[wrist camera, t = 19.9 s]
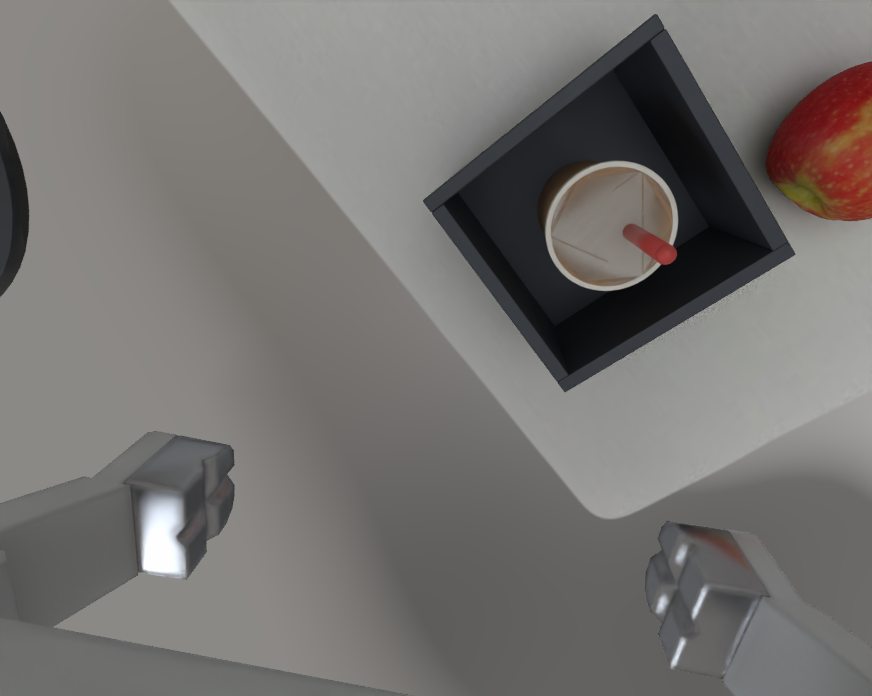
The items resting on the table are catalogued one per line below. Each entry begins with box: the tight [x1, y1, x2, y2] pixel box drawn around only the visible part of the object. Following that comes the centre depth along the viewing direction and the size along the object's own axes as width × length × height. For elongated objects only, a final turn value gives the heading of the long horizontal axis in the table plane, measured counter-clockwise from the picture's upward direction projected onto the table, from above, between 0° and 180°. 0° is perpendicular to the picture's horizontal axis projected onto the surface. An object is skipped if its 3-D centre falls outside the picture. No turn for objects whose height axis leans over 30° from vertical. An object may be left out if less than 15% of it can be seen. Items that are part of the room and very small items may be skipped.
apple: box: [766, 62, 872, 221], centre depth 30 cm, size 8×8×8 cm
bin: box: [423, 14, 795, 392], centre depth 32 cm, size 14×14×10 cm
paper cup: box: [538, 161, 678, 291], centre depth 28 cm, size 6×6×16 cm
